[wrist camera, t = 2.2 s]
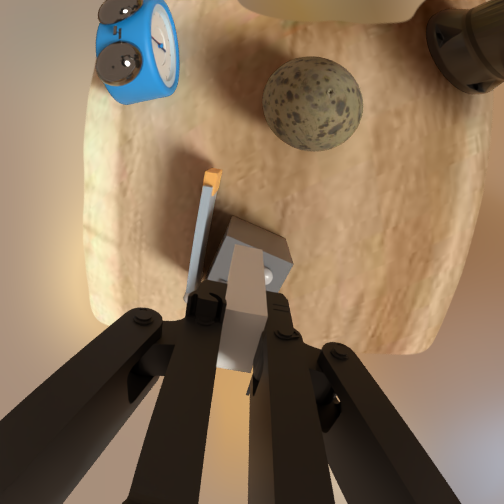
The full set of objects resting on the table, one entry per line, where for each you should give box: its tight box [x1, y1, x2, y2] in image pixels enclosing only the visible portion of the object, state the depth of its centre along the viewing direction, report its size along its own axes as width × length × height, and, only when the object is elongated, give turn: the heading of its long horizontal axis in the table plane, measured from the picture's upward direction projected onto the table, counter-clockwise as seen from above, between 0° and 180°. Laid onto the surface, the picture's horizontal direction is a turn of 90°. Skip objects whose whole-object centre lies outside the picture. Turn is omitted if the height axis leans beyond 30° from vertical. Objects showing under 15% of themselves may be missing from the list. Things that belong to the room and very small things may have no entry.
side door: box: [183, 168, 222, 303], centre depth 37 cm, size 16×1×7 cm, turn 167°
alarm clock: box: [96, 0, 179, 105], centre depth 26 cm, size 13×6×15 cm, turn 4°
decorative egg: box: [262, 57, 363, 151], centre depth 28 cm, size 11×11×15 cm
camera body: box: [205, 216, 293, 293], centre depth 38 cm, size 11×8×10 cm
